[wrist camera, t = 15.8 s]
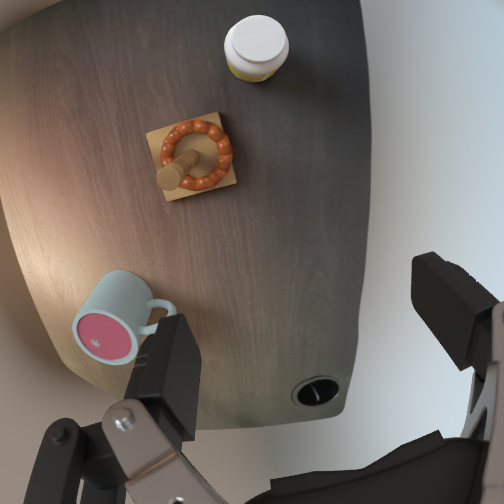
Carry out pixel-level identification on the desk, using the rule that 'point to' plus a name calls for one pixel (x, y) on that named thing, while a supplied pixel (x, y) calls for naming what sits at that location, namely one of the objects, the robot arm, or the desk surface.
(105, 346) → the mug
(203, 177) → the ring
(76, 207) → the desk surface
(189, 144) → the stand
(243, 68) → the pill bottle
